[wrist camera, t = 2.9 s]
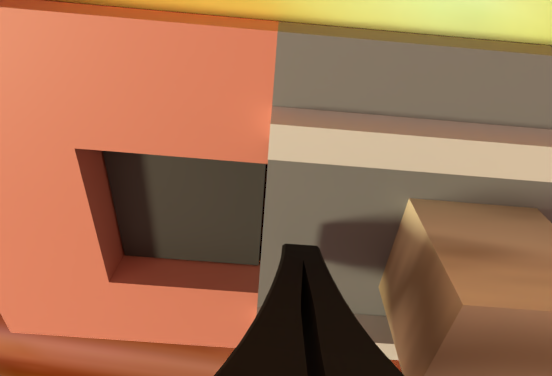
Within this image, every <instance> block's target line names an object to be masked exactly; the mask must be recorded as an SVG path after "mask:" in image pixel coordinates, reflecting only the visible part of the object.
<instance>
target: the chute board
mask: <svg viewBox="0 0 552 376" xmlns="http://www.w3.org/2000/svg"><path fill="white" fill-rule="evenodd" d="M266 164H268V168H267V181H266V195H265V208H264V221H263V235H262V248H261V262H260V263H259V253H260V239H261V225H262V211H263V197H264V183H265V169H266ZM409 198H413V199H426V200H439V201H451V202H464V203H476V204H489V205H502V206H514V207H527V208H537V209H538V210H539V211H540V212H541V213H542V214H543V215H544V216H545V217H546V218H547V219H548V220H549V221H550V222H551V223H552V46H551V45H540V44H529V43H517V42H506V41H495V40H484V39H472V38H461V37H450V36H439V35H427V34H416V33H405V32H394V31H382V30H371V29H360V28H349V27H338V26H326V25H315V24H304V23H293V22H281V21H270V20H259V19H248V18H236V17H225V16H214V15H203V14H191V13H180V12H169V11H158V10H146V9H135V8H124V7H113V6H101V5H90V4H79V3H68V2H57V1H45V0H0V313H1V315H2V317H3V319H4V321H5V323H6V325H7V326H8V328H9V330H10V332H12V333H26V334H41V335H55V336H69V337H84V338H98V339H113V340H127V341H141V342H156V343H170V344H185V345H199V346H214V347H228V348H236V347H237V345H238V344H239V343H240V341H241V340H242V338H243V337H244V335H245V334H246V332H247V330H248V329H249V327H250V326H251V324H252V322H253V321H254V319H255V317H256V315H257V314H258V312H259V310H260V308H261V306H262V304H263V302H264V300H265V298H266V296H267V294H268V292H269V290H270V287H271V285H272V283H273V280H274V277H275V275H276V272H277V269H278V266H279V263H280V259H281V252H282V245H284V244H299V245H313V246H318V247H319V248H320V251H321V254H322V256H323V259H324V261H325V263H326V266H327V268H328V270H329V272H330V274H331V276H332V278H333V280H334V282H335V284H336V285H337V287H338V289H339V291H340V293H341V294H342V296H343V298H344V300H345V301H346V303H347V304H348V306H349V308H350V309H351V311H352V312H353V314H354V315H355V317H356V318H357V320H358V321H359V323H360V324H361V325H362V327H363V328H364V329H365V331H366V332H367V333H368V335H369V336H370V337H371V338H372V340H373V341H374V342H375V344H376V345H377V346H378V347H379V348H380V349H381V350H382V352H383V353H384V354H385V355H386V356H387V357H388V358H389V359H391V360H399V359H398V356H397V352H396V348H395V345H394V341H393V338H392V334H391V330H390V327H389V323H388V320H387V316H386V312H385V309H384V305H383V302H382V298H381V294H380V291H379V284H380V281H381V278H382V276H383V273H384V270H385V267H386V264H387V261H388V258H389V255H390V252H391V249H392V246H393V243H394V241H395V238H396V235H397V232H398V229H399V226H400V223H401V220H402V217H403V214H404V211H405V208H406V206H407V203H408V200H409Z"/></svg>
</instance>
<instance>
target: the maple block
mask: <svg viewBox="0 0 552 376" xmlns="http://www.w3.org/2000/svg"><path fill="white" fill-rule="evenodd" d="M379 291H380V294H381V298H382V302H383V305H384V309H385V312H386V316H387V320H388V323H389V327H390V330H391V334H392V338H393V341H394V345H395V348H396V352H397V356H398V359H399V363H400V366H401V370H402V374H403V375H404V376H552V223H551V222H550V221H549V220H548V219H547V218H546V217H545V216H544V215H543V214H542V213H541V212H540V211H539V210H538V209H537V208H527V207H514V206H502V205H489V204H476V203H464V202H451V201H439V200H426V199H413V198H409V200H408V203H407V206H406V208H405V211H404V214H403V217H402V220H401V223H400V226H399V229H398V232H397V235H396V238H395V241H394V243H393V246H392V249H391V252H390V255H389V258H388V261H387V264H386V267H385V270H384V273H383V276H382V278H381V281H380V284H379Z"/></svg>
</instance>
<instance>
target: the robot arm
mask: <svg viewBox="0 0 552 376" xmlns="http://www.w3.org/2000/svg"><path fill="white" fill-rule="evenodd" d="M214 376H404V375H403V374H402V373H401V372H400V371H399V369H398V368H397V367H396V366H395V365H394V364H393V363H392V362H391V361H390V360H389V358H388V357H387V356H386V355H385V354H384V353H383V352H382V350H381V349H380V348H379V347H378V346H377V345H376V344H375V342H374V341H373V340H372V338H371V337H370V336H369V335H368V333H367V332H366V331H365V329H364V328H363V327H362V325H361V324H360V323H359V321H358V320H357V318H356V317H355V315H354V314H353V312H352V311H351V309H350V308H349V306H348V304H347V303H346V301H345V300H344V298H343V296H342V294H341V293H340V291H339V289H338V287H337V285H336V284H335V282H334V280H333V278H332V276H331V274H330V272H329V270H328V268H327V266H326V263H325V261H324V259H323V256H322V254H321V251H320V248H319V247H318V246H313V245H299V244H284V245H282V252H281V259H280V263H279V266H278V269H277V272H276V275H275V277H274V280H273V283H272V285H271V287H270V290H269V292H268V294H267V296H266V298H265V300H264V302H263V304H262V306H261V308H260V310H259V312H258V314H257V315H256V317H255V319H254V321H253V322H252V324H251V326H250V327H249V329H248V330H247V332H246V334H245V335H244V337H243V338H242V340H241V341H240V343H239V344H238V345H237V347H236V348H235V350H234V351H233V352H232V354H231V355H230V356H229V358H228V359H227V360H226V362H225V363H224V364H223V365H222V367H221V368H220V369H219V370H218V371H217V373H216V374H215V375H214Z"/></svg>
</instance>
